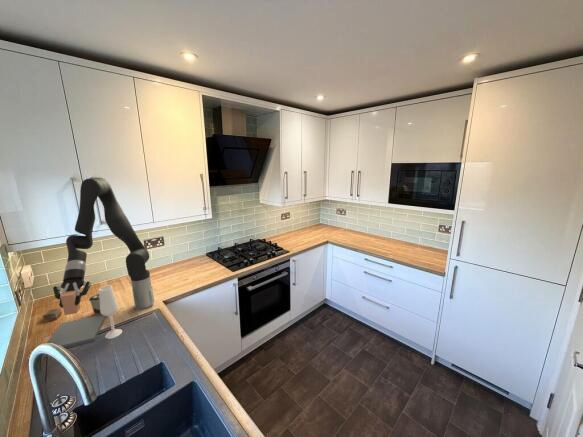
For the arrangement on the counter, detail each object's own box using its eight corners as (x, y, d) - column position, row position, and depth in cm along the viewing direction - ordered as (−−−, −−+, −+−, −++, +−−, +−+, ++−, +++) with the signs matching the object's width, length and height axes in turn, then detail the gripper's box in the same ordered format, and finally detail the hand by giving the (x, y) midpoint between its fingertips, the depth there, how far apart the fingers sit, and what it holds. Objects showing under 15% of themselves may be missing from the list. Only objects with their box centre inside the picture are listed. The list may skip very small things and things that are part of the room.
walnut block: (61, 314, 128) (60, 308, 127) (56, 320, 123) (55, 313, 122) (49, 316, 126) (48, 310, 125) (44, 322, 122) (42, 315, 121)
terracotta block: (80, 308, 114) (76, 290, 112) (76, 313, 110) (73, 294, 108) (68, 310, 112) (64, 292, 110) (64, 315, 108) (60, 296, 106)
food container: (122, 307, 134) (119, 291, 132) (114, 313, 128) (112, 297, 126) (100, 307, 134) (97, 291, 132) (91, 314, 128) (88, 297, 126)
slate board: (106, 316, 126) (106, 313, 126) (94, 340, 108) (93, 337, 108) (62, 325, 119) (62, 322, 119) (41, 353, 101) (41, 350, 101)
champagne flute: (117, 327, 118) (110, 283, 112) (125, 331, 114) (117, 286, 109) (102, 335, 112) (93, 289, 107) (109, 340, 109) (100, 293, 104)
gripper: (52, 270, 111) (44, 307, 103) (90, 265, 117) (86, 300, 109) (59, 276, 117) (52, 311, 109) (95, 271, 123) (91, 304, 114)
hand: (69, 305), depth 109 cm, fingers closed on terracotta block, 4 cm apart
